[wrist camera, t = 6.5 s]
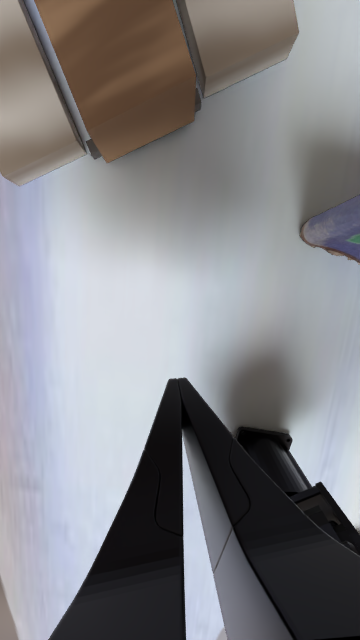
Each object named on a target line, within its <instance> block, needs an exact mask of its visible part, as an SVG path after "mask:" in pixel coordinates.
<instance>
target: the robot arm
mask: <svg viewBox="0 0 360 640" xmlns="http://www.w3.org/2000/svg"><path fill="white" fill-rule="evenodd" d="M182 435H183V440H184V444H185V449H186V453H187V458H188V462H189V467H190V472H191V476H192V481H193V485H194V490H195V494H196V499H197V503H198V508H199V512H200V517H201V521H202V526H203V530H204V535H205V540H206V544H207V549H208V553H209V558H210V562H211V567H212V571H213V574H214V575H213V576H214V581H215V585H216V590H217V594H218V599H219V603H220V608H221V612H222V617H223V621H224V626H225V631H226V635H227V640H360V535H359V533H358V532H357V531H356V529H355V528H354V526H353V525H352V524H351V522H350V521H349V520H348V518H347V517H346V515H345V514H344V513H343V511H342V510H341V509H340V507H339V506H338V504H337V503H336V502H335V500H334V499H333V498H332V496H331V495H330V493H329V492H328V491H327V489H326V488H325V487H324V485H323V484H322V482H319V483H316V486H313V487H312V486H311V484H310V483H309V481H308V480H307V478H306V476H305V475H304V473H303V472H302V470H301V469H300V467H299V465H298V464H297V462H296V461H295V459H294V458H293V456H292V454H291V453H290V451H289V449H290V446H291V443H292V438H291V436H290V435H289V434H284V433H277V432H271V431H264V430H258V429H251V428H245V427H240V428H239V429H238V431H237V435H236V438H233V435H232V434H231V433H230V432H229V430H228V429H227V428H226V427H225V425H224V424H223V423H222V422H221V420H220V419H219V418H218V417H217V415H216V414H215V413H214V412H213V411H212V409H211V408H210V407H209V406H208V404H207V403H206V402H205V401H204V399H203V398H202V397H201V396H200V394H199V393H198V392H197V391H196V390H195V388H194V387H193V386H192V385H191V383H190V382H189V381H188V380H187V378H178V379H176V378H174V379H169V380H168V383H167V385H166V388H165V391H164V394H163V397H162V400H161V402H160V405H159V408H158V411H157V414H156V416H155V419H154V422H153V425H152V428H151V431H150V433H149V436H148V439H147V442H146V445H145V448H144V450H143V453H142V456H141V459H140V461H139V464H138V467H137V469H136V472H135V474H134V477H133V479H132V482H131V484H130V486H129V488H128V491H127V493H126V495H125V497H124V500H123V502H122V504H121V506H120V508H119V510H118V512H117V514H116V517H115V519H114V521H113V523H112V525H111V527H110V529H109V531H108V534H107V536H106V538H105V540H104V542H103V544H102V546H101V548H100V551H99V553H98V555H97V557H96V559H95V561H94V563H93V565H92V567H91V569H90V571H89V573H88V575H87V577H86V578H85V580H84V582H83V584H82V586H81V588H80V589H79V591H78V593H77V595H76V596H75V598H74V600H73V601H72V603H71V605H70V606H69V608H68V609H67V611H66V612H65V614H64V616H63V617H62V619H61V620H60V622H59V624H58V625H57V627H56V628H55V630H54V631H53V633H52V635H51V636H50V638H49V639H48V640H186V622H185V590H184V545H183V468H182Z"/></svg>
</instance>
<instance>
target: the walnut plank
mask: <svg viewBox="0 0 360 640" xmlns="http://www.w3.org/2000/svg"><path fill="white" fill-rule="evenodd" d="M34 1H35V4H36V6H37V9H38V11H39V14H40V16H41V19H42V21H43V23H44V26H45V28H46V31H47V33H48V36H49V38H50V41H51V43H52V46H53V48H54V51H55V53H56V56H57V58H58V60H59V63H60V65H61V68H62V70H63V73H64V75H65V78H66V80H67V83H68V85H69V88H70V90H71V93H72V95H73V98H74V100H75V102H76V105H77V107H78V110H79V112H80V115H81V117H82V120H83V122H84V125H85V127H86V130H87V132H88V133H89V135H90V137H91V138H92V140H93V142H94V143H95V145H96V146H97V148H98V150H99V151H100V153H101V155H102V156H103V158H104V160H105V161H106V163H109V162H111V161H113V160H115V159H117V158H119V157H121V156H123V155H125V154H127V153H129V152H131V151H133V150H135V149H137V148H139V147H142V146H144V145H146V144H148V143H150V142H152V141H154V140H156V139H158V138H160V137H162V136H164V135H166V134H168V133H170V132H173V131H175V130H177V129H179V128H181V127H183V126H185V125H187V124H189V123H191V122H193V121H194V113H195V90H196V74H195V70H194V67H193V64H192V61H191V58H190V55H189V51H188V48H187V45H186V42H185V39H184V36H183V33H182V29H181V26H180V23H179V20H178V17H177V14H176V10H175V7H174V4H173V1H172V0H34Z"/></svg>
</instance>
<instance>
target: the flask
mask: <svg viewBox="0 0 360 640" xmlns="http://www.w3.org/2000/svg"><path fill="white" fill-rule="evenodd" d="M300 237H301V238H302V239H303V241H305V242H306V244H308V245H310V246H311V247H314V248H315V247H320V248H322V249H324V250H326V251H327V252H328V253H331V254H332V255H336V256H344V255H345V256H346V257H348V260H355V261H357V262H358V265H359V264H360V195H358V196H356V197H354V198H352V199H350V200H348V201H346V202H344V203H342V204H340V205H338V206H336V207H334V208H332V209H329V210H327V211H325V212H323V213H321V214H319V215H317V216H314V217H312V218H310V219H309V220H308V221H307V222H306V223H305V224H304V225H303V227H302V229H301V233H300Z"/></svg>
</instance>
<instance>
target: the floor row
mask: <svg viewBox="0 0 360 640" xmlns="http://www.w3.org/2000/svg"><path fill="white" fill-rule="evenodd" d="M176 2H177V5H178V9H179V12H180V16H181V19H182V23H183V26H184V30H185V34H186V37H187V41H188V44H189V48H190V51H191V55H192V58H193V62H194V66H195V69H196V73H197V76H198V80H199V83H200V87H201V90H202V94H203V98H206V97H208V96H210V95H212V94H214V93H216V92H218V91H220V90H223V89H225V88H227V87H229V86H231V85H233V84H235V83H237V82H239V81H241V80H244V79H246V78H248V77H250V76H252V75H254V74H256V73H258V72H260V71H262V70H264V69H267V68H269V67H271V66H273V65H275V64H277V63H279V62H281V61H283V60H285V59H287V57H288V55H289V53H290V51H291V49H292V46H293V44H294V42H295V40H296V38H297V36H298V34H299V29H298V24H297V18H296V12H295V7H294V1H293V0H176ZM200 109H201V100H200V96H199V93H198V89H197V88H196V90H195V112H196V111H198V110H200ZM86 143H87V146H88V148H89V151H90V153H91V155H92V156H93V158H94V159H97V158H99V157H101V156H102V155H101V153H100V151H99V150H98V148H97V146H96V145H95V143H94V142H93V140H92V139H90V140H88V141H86ZM84 155H86V152H85V149H84V147H83V145H82V142H81V140H80V137H79V135H78V132H77V130H76V128H75V125H74V123H73V120H72V118H71V116H70V113H69V111H68V108H67V106H66V103H65V101H64V99H63V96H62V94H61V91H60V89H59V86H58V84H57V82H56V79H55V77H54V74H53V72H52V70H51V67H50V65H49V62H48V60H47V57H46V55H45V53H44V50H43V48H42V45H41V43H40V41H39V38H38V36H37V33H36V31H35V28H34V26H33V24H32V21H31V19H30V16H29V14H28V11H27V9H26V7H25V4H24V2H23V0H0V172H1V174H2V176H3V177H4V178H6V179H7V180H9V181H11V182H13V183H14V184H16V185H18V186H21V185H24V184H26V183H28V182H30V181H32V180H34V179H36V178H38V177H40V176H42V175H45V174H47V173H49V172H51V171H53V170H55V169H57V168H59V167H61V166H63V165H65V164H68V163H70V162H72V161H74V160H76V159H78V158H80V157H82V156H84Z"/></svg>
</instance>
